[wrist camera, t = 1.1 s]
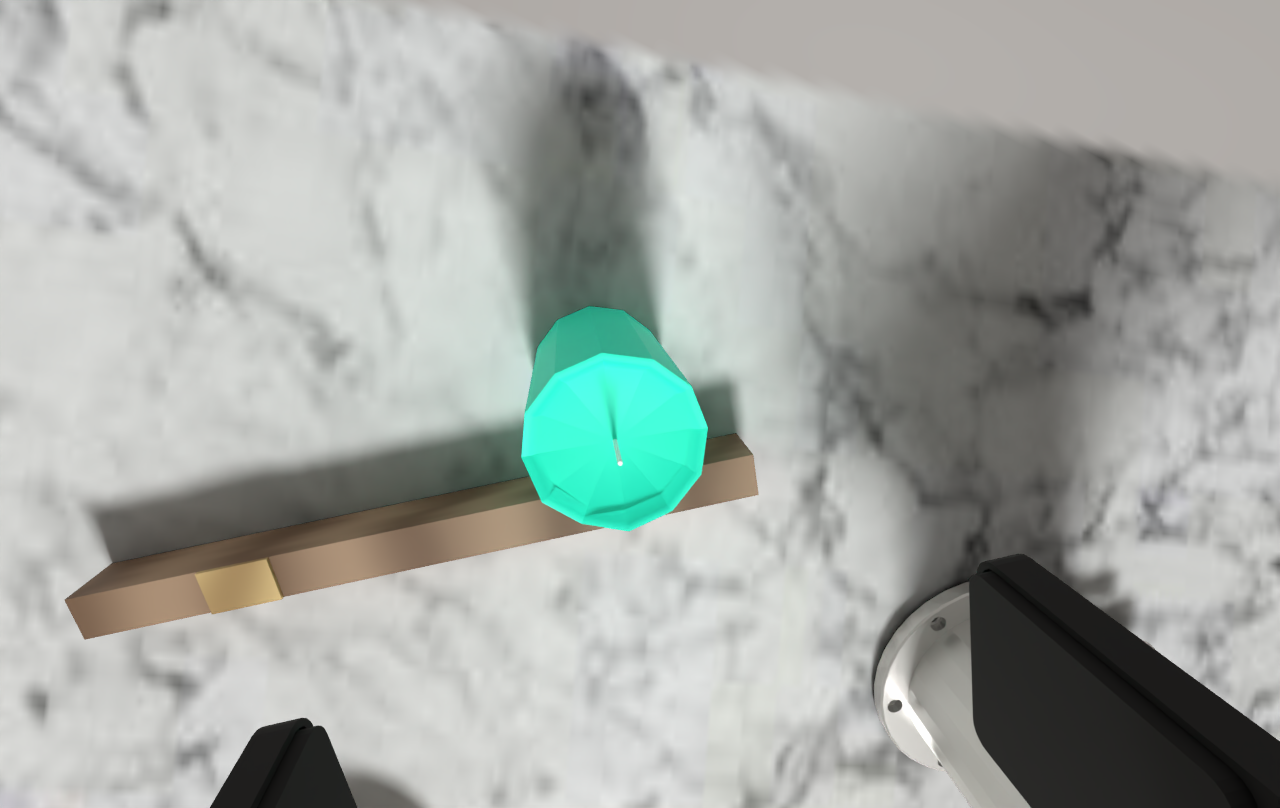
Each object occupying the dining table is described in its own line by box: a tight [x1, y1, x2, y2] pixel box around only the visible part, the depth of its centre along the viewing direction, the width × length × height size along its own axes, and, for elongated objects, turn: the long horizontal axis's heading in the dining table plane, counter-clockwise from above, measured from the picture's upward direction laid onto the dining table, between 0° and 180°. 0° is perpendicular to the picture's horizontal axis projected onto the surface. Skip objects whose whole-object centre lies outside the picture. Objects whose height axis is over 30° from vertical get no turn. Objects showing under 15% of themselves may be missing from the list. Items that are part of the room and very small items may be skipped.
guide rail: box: [65, 433, 758, 639], centre depth 30 cm, size 30×2×3 cm, turn 100°
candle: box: [521, 306, 708, 531], centre depth 25 cm, size 6×6×12 cm
